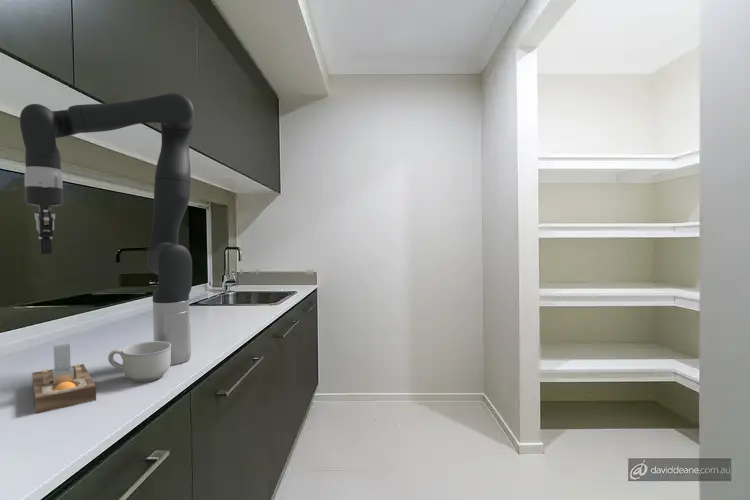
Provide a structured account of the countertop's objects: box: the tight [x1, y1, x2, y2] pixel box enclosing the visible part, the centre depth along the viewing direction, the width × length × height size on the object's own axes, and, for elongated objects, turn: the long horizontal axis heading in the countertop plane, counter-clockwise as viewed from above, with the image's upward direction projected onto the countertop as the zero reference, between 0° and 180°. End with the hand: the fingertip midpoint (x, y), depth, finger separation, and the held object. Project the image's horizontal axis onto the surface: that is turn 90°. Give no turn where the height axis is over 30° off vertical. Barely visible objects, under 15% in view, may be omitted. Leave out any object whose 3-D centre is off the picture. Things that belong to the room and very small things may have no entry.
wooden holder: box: [31, 363, 97, 414], centre depth 93 cm, size 21×10×5 cm, turn 41°
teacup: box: [107, 340, 171, 383], centre depth 102 cm, size 14×11×8 cm
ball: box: [54, 382, 76, 391], centre depth 88 cm, size 4×4×4 cm
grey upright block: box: [51, 343, 74, 384], centre depth 91 cm, size 4×4×8 cm
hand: (46, 254), depth 105 cm, fingers closed
